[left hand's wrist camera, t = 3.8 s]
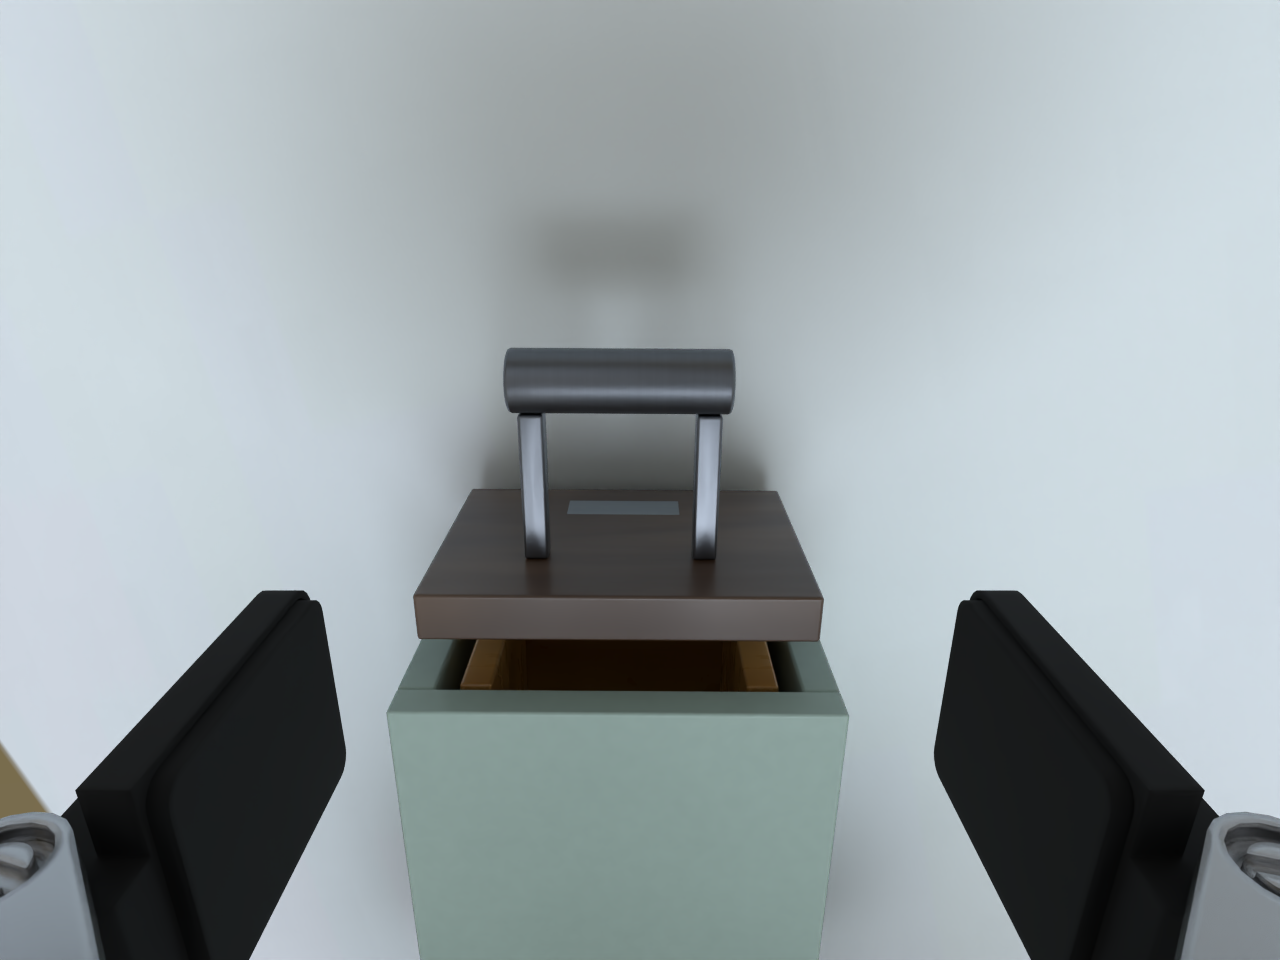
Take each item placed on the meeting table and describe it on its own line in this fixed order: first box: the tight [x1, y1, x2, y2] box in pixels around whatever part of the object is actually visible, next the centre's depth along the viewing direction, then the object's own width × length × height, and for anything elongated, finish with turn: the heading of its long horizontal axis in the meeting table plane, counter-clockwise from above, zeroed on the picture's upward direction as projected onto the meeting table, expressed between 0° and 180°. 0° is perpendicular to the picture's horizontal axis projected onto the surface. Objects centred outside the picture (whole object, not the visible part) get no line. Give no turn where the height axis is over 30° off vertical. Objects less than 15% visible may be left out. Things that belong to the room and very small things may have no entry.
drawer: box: [413, 348, 824, 692], centre depth 23 cm, size 24×9×7 cm, turn 0°
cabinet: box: [387, 639, 849, 960], centre depth 25 cm, size 20×11×8 cm, turn 0°
